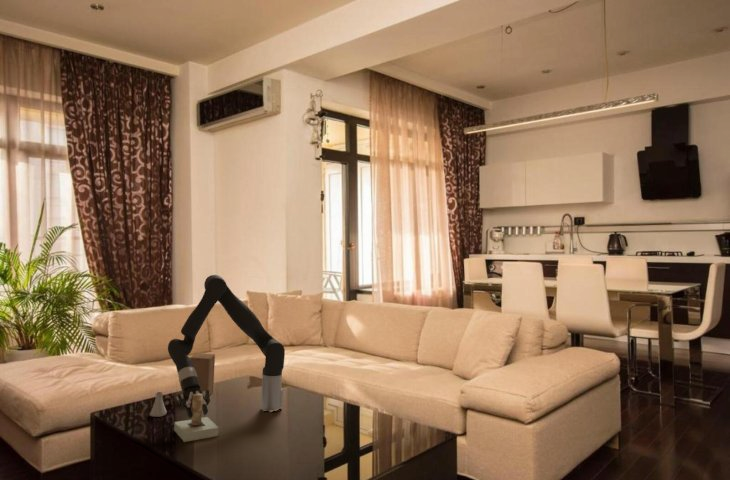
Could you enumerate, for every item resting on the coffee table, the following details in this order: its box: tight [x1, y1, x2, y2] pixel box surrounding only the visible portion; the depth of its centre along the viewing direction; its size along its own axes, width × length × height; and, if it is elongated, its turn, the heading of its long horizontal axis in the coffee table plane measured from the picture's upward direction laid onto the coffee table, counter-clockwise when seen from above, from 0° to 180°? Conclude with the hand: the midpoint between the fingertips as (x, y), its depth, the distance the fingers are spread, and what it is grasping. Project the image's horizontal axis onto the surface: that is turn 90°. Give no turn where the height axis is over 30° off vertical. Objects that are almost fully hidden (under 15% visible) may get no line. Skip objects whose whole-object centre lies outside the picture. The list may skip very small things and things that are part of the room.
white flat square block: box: [173, 416, 220, 443], centre depth 227 cm, size 14×14×4 cm
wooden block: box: [189, 352, 216, 399], centre depth 278 cm, size 10×10×20 cm
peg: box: [190, 394, 203, 428], centre depth 227 cm, size 4×4×16 cm
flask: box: [149, 391, 168, 418], centre depth 247 cm, size 7×7×10 cm
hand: (198, 415), depth 226 cm, fingers open, 5 cm apart
